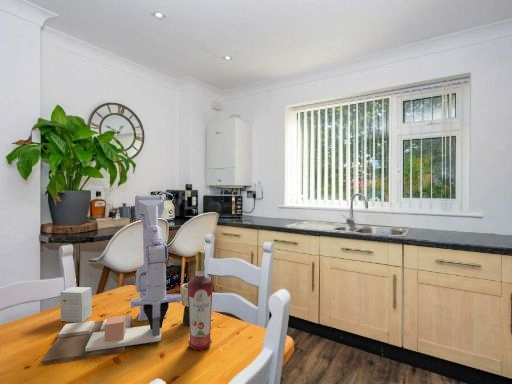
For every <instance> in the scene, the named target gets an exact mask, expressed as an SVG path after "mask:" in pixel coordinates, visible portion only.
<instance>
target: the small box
mask: <svg viewBox="0 0 512 384" xmlns="http://www.w3.org/2000/svg"><path fill="white" fill-rule="evenodd" d="M59 299H60V300H59V301H60V322H62V321H66V322H65V323H67V322H69V323H79V322H86V320H88V319H89V318H90V317H92V315H93V303H92V299H93V297H92V287H89V286H87V287H85V286H84V287H83V286H71V287H68V288H66V289H64V290H62V291H60V298H59Z"/></svg>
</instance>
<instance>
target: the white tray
mask: <svg viewBox="0 0 512 384" xmlns="http://www.w3.org/2000/svg"><path fill="white" fill-rule="evenodd" d="M152 326H153V329H150V324H148V325H141V326H134V327H130V328H126V333H125V336H124V339H122V340H115V341H108V342H105V331H102V332H94V333H93V334H92V336H91V338H90V340H89V342H88V344H87V346H86V348H85V352H86V351H93V350H100V349H107V348H114V347H121V346H126V347H127V346H133V345H140V344H147V343H155V342H160V341H162V329H163V327H162V328H160V314H153V323H152Z"/></svg>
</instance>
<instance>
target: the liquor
mask: <svg viewBox="0 0 512 384" xmlns="http://www.w3.org/2000/svg"><path fill="white" fill-rule="evenodd" d="M205 256H206V253H205V250H196V251H195V272H194V273H195V275H194V278H191V279H190V280H189V281H188V282H187V283H188V284H187V285H188V306H189V324H188V326H189V340H188V345H189V347H191V348H192V349H193V350H196V351H204V350H206V349H207V348H208V347H209V346H210V345H211V344H212V343H213V339H212V338H211V329H212V328H211V326H212V324H211V322H212V306H213V305H212V304H213V283H214V281H213V280H212V279H210V278H209V277H206V267H205V259H206V257H205Z"/></svg>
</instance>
